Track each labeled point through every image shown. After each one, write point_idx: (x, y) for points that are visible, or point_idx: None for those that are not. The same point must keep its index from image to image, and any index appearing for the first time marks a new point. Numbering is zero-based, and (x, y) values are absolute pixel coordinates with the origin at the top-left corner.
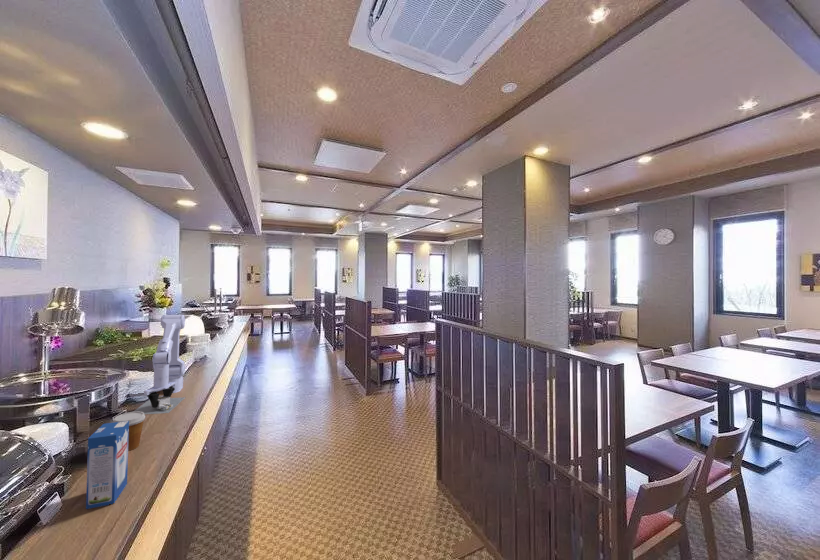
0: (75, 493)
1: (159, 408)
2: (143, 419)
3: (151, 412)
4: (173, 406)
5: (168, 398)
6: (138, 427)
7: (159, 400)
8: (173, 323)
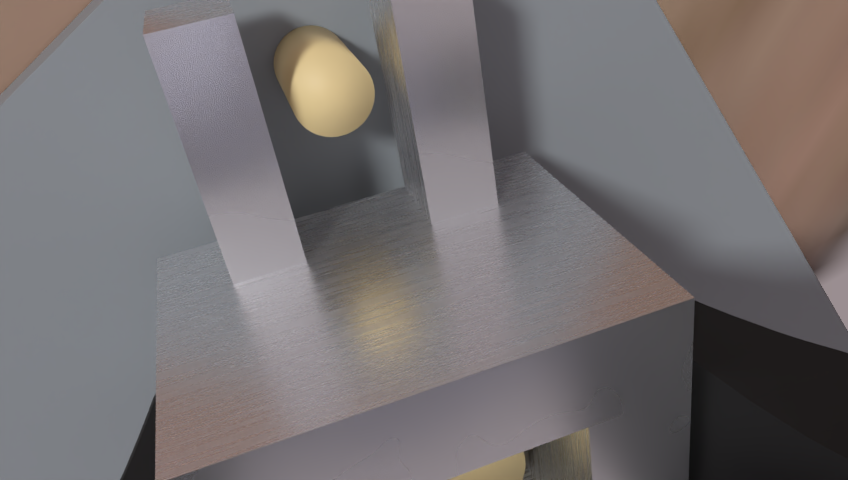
0: None
1: (522, 161)
2: None
3: (638, 179)
4: (54, 172)
5: (243, 415)
6: None
7: (683, 317)
8: None
